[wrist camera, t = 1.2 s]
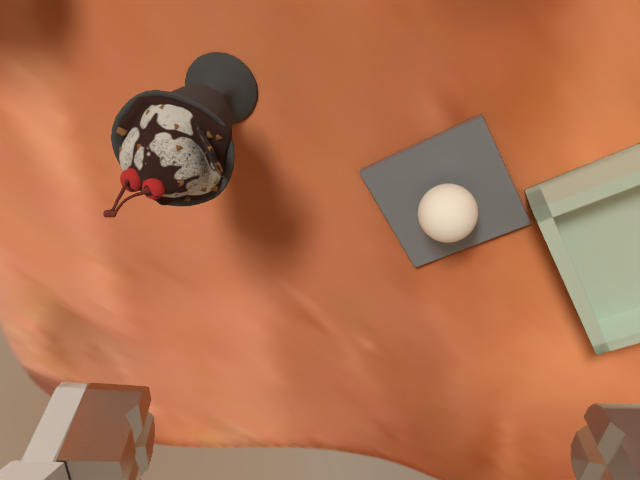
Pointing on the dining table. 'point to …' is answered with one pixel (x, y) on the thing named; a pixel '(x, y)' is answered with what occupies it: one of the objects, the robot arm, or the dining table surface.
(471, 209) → the ball
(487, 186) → the coaster
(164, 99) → the sundae
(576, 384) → the dining table surface
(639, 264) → the tray
